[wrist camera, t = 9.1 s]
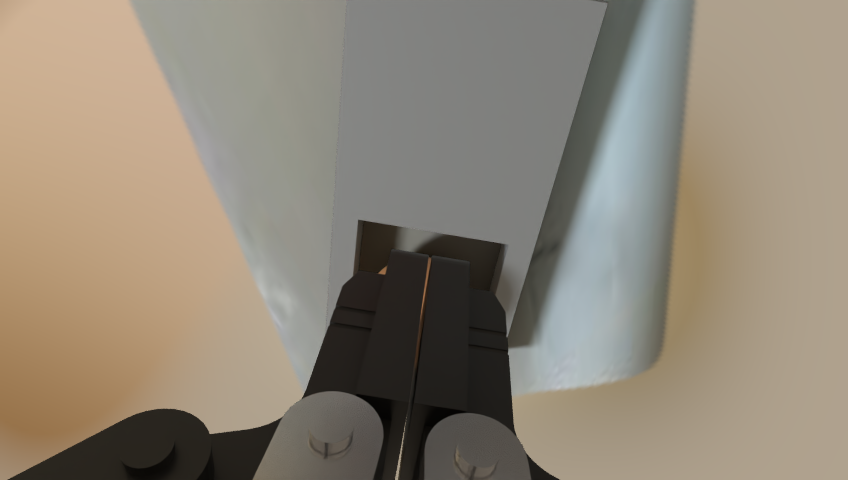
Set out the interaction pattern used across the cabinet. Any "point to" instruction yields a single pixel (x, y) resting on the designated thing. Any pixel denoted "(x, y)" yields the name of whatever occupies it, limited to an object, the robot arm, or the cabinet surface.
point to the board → (456, 123)
